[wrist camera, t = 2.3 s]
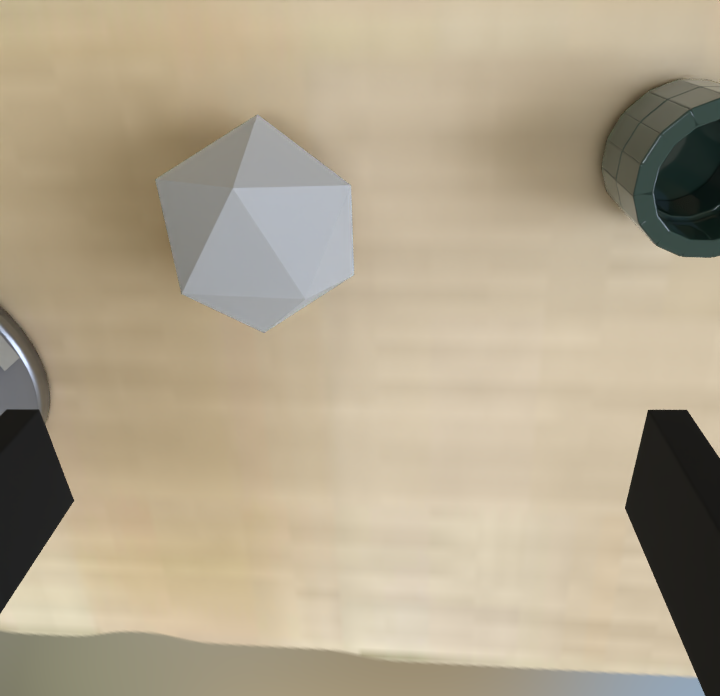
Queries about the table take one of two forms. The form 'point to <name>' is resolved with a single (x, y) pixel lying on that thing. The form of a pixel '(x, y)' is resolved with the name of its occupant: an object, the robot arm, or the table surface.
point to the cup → (670, 166)
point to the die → (257, 225)
